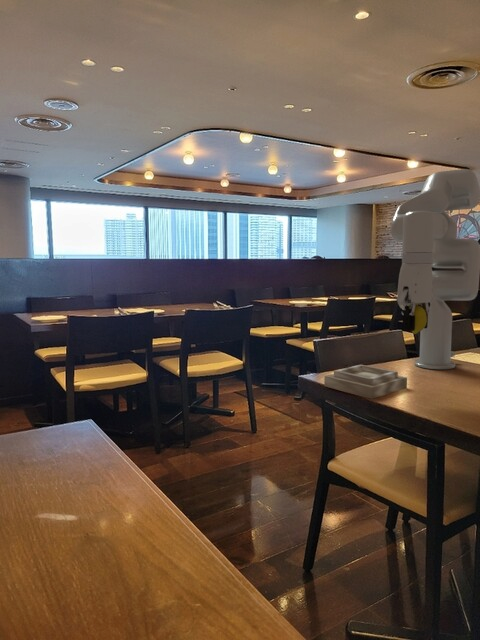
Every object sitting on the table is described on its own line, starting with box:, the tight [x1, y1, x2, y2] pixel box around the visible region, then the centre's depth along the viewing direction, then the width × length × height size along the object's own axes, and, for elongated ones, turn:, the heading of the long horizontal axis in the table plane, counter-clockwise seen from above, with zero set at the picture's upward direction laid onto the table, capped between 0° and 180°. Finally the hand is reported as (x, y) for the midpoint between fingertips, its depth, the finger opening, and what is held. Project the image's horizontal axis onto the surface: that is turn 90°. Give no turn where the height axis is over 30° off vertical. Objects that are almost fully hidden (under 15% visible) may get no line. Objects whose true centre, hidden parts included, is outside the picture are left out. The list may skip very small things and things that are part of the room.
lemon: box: [409, 304, 427, 335], centre depth 121 cm, size 6×6×8 cm
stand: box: [323, 364, 408, 400], centre depth 129 cm, size 16×16×4 cm
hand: (414, 328), depth 121 cm, fingers closed on lemon, 5 cm apart
